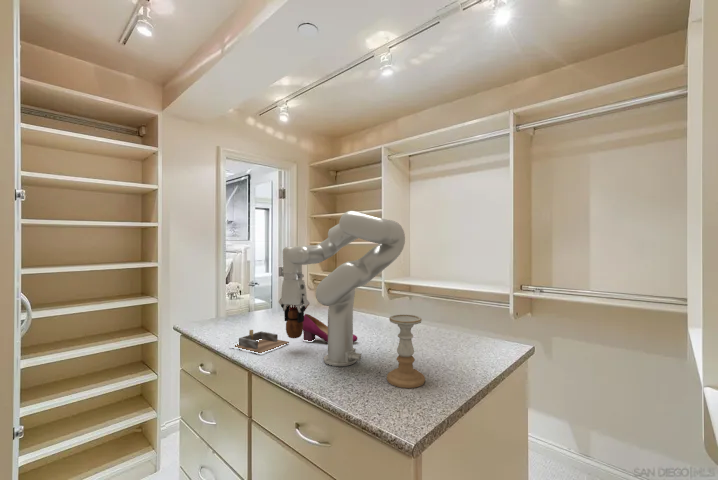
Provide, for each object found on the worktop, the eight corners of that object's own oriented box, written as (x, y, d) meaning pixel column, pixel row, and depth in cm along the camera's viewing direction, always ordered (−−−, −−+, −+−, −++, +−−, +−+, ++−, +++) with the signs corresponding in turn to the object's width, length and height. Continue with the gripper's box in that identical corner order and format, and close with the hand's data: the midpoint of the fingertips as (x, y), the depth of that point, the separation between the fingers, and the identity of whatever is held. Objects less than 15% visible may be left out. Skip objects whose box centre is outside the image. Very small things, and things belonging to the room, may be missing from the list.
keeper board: (288, 344, 142) (288, 330, 142) (260, 355, 128) (260, 339, 128) (258, 338, 152) (258, 325, 152) (229, 347, 138) (229, 333, 138)
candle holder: (378, 380, 105) (378, 317, 105) (402, 369, 114) (402, 312, 114) (409, 392, 96) (409, 324, 96) (432, 380, 105) (432, 317, 105)
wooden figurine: (304, 335, 134) (303, 299, 134) (300, 339, 128) (299, 301, 129) (288, 335, 135) (287, 299, 135) (284, 339, 129) (283, 301, 129)
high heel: (356, 346, 140) (356, 317, 140) (298, 344, 142) (298, 316, 143) (358, 340, 148) (358, 313, 148) (304, 338, 151) (303, 312, 151)
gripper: (315, 276, 131) (316, 321, 130) (283, 275, 140) (284, 317, 139) (303, 278, 124) (304, 325, 124) (270, 277, 133) (272, 321, 133)
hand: (294, 320), depth 132 cm, fingers closed on wooden figurine, 6 cm apart
